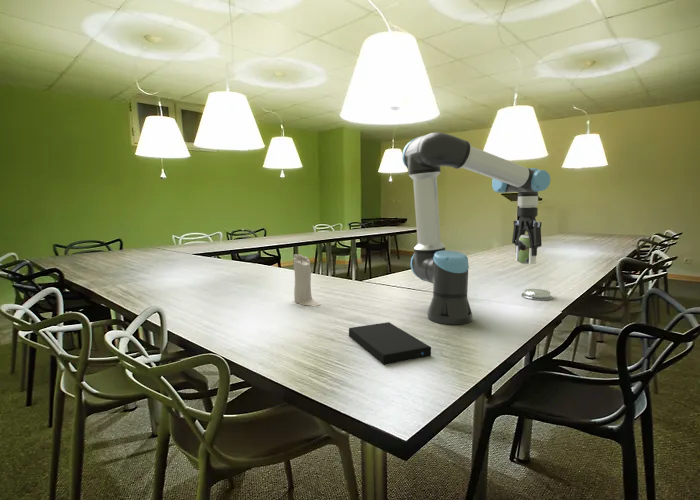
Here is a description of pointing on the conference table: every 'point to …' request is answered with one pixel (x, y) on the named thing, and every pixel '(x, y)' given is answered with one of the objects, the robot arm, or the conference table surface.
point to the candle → (303, 281)
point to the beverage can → (523, 249)
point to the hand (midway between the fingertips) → (525, 262)
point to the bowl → (537, 294)
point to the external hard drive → (389, 343)
